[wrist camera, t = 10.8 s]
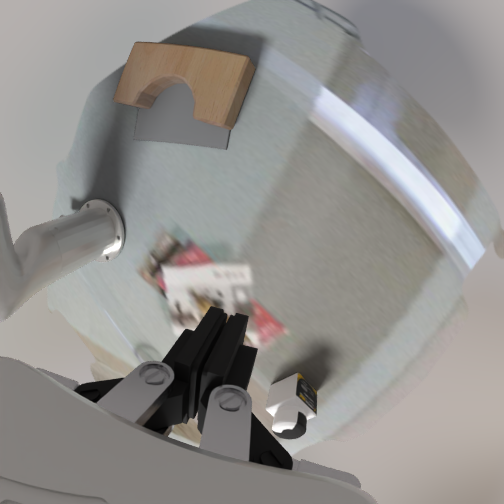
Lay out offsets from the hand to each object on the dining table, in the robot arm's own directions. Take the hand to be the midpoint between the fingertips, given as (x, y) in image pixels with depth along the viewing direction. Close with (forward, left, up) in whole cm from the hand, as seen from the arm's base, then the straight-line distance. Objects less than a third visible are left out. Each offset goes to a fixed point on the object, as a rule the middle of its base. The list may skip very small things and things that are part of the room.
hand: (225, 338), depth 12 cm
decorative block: (-9, +16, -30) cm, 35 cm away
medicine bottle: (+10, -34, -33) cm, 49 cm away
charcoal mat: (-19, +16, -33) cm, 41 cm away
